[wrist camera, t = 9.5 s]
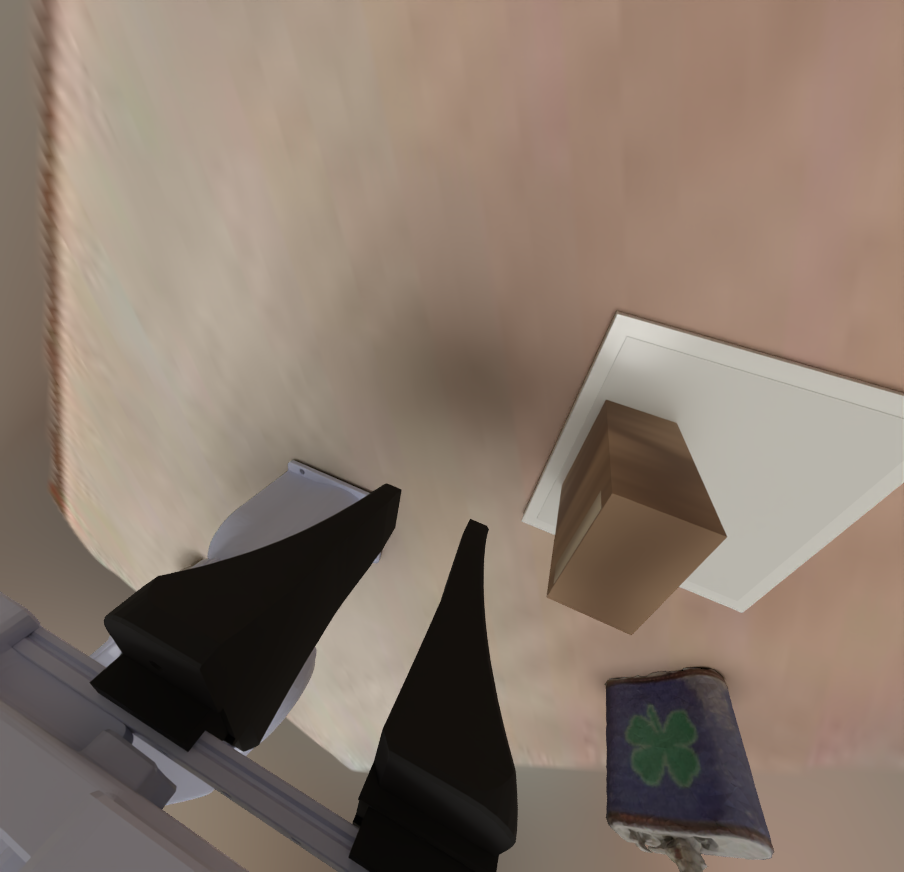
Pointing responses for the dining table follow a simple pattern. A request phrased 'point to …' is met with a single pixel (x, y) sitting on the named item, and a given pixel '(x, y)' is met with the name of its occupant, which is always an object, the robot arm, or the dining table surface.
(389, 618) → the dining table surface
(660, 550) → the walnut block
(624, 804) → the flask
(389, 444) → the dining table surface
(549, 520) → the stone board
